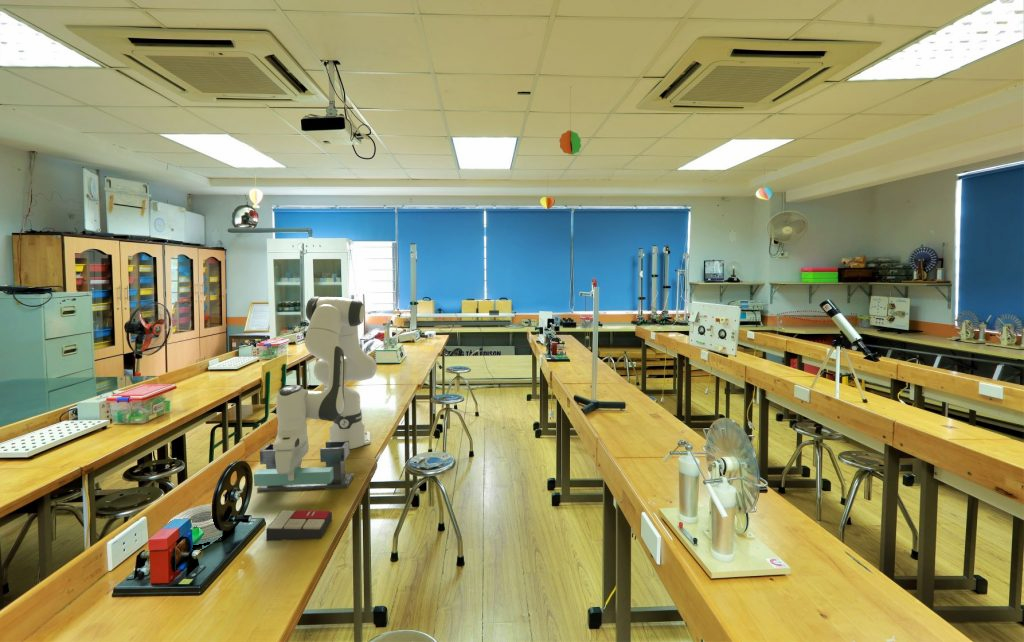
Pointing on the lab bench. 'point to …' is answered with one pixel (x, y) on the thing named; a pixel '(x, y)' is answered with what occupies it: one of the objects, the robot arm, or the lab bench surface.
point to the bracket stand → (331, 455)
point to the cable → (201, 520)
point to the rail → (301, 476)
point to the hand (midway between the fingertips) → (294, 476)
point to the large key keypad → (298, 525)
